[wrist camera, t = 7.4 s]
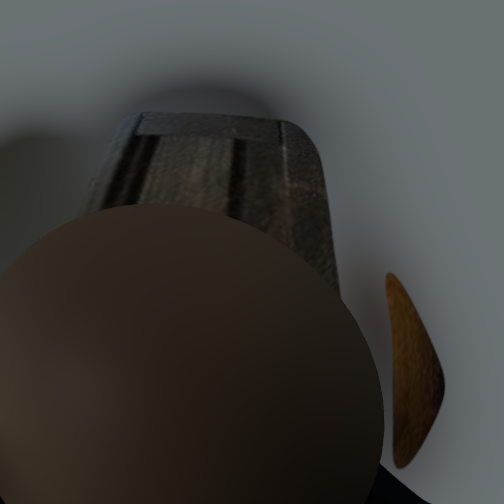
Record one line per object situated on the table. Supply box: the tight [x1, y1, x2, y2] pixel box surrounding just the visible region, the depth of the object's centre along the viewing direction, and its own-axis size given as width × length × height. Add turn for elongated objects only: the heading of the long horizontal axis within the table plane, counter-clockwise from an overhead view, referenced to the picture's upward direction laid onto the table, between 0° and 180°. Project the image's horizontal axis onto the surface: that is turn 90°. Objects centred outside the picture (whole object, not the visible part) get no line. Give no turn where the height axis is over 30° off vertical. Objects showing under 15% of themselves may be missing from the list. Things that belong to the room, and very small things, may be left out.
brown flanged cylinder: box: [0, 204, 384, 504], centre depth 8 cm, size 6×6×12 cm
